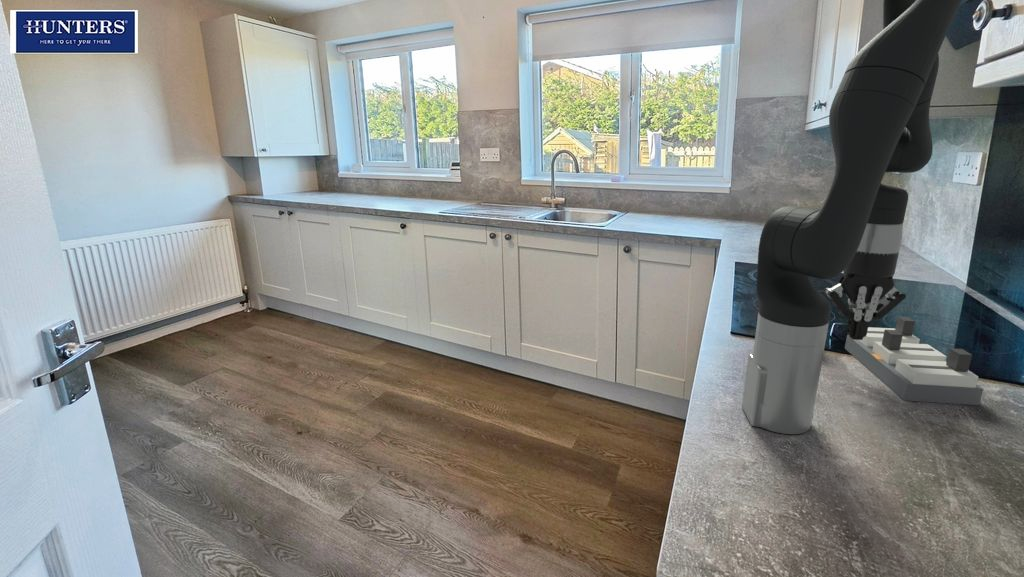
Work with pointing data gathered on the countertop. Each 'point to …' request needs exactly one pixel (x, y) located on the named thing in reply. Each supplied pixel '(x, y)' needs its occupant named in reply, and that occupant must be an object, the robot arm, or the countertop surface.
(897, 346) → the block
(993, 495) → the countertop surface
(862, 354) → the box
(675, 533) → the countertop surface
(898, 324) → the block
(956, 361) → the block
